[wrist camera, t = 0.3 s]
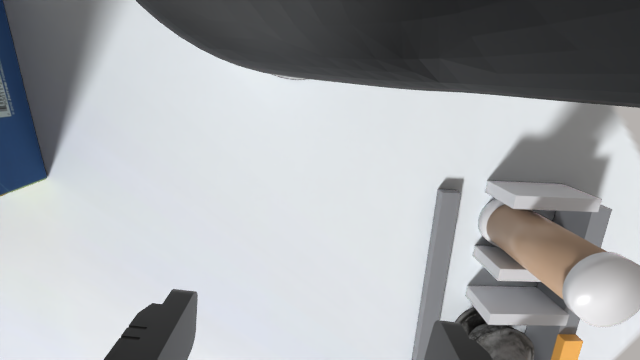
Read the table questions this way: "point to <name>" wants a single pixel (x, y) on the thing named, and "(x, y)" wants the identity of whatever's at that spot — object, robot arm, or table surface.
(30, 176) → the protein box
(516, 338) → the salt shaker
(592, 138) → the table surface
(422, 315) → the fuse rail
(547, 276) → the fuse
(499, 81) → the robot arm
